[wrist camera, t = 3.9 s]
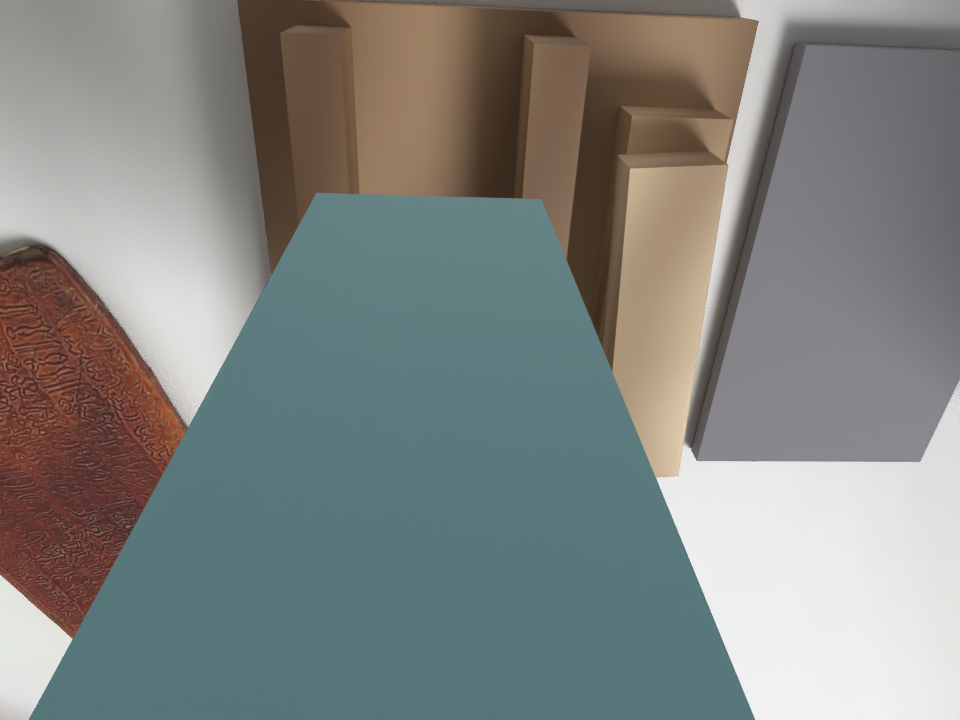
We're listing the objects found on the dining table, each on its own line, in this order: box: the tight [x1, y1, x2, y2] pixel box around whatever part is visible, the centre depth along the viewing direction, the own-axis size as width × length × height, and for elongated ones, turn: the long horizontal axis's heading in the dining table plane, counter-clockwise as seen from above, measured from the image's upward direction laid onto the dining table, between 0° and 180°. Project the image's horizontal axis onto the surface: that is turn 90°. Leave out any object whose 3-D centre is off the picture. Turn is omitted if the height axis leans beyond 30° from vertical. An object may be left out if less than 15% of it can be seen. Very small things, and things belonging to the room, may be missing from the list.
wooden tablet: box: [0, 246, 187, 639], centre depth 26 cm, size 27×10×2 cm, turn 17°
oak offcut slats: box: [590, 106, 733, 477], centre depth 18 cm, size 3×10×2 cm, turn 178°
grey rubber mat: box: [691, 43, 960, 462], centre depth 20 cm, size 8×13×1 cm, turn 177°
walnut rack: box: [238, 0, 759, 316], centre depth 19 cm, size 12×14×3 cm
